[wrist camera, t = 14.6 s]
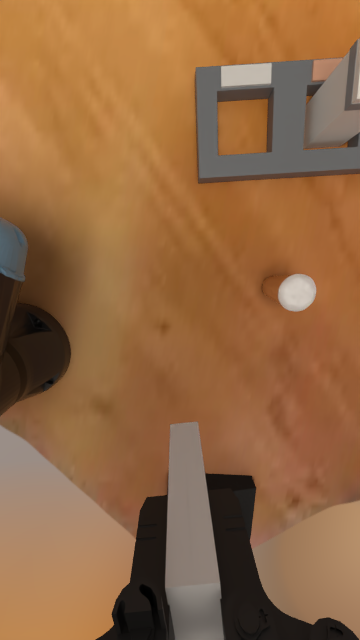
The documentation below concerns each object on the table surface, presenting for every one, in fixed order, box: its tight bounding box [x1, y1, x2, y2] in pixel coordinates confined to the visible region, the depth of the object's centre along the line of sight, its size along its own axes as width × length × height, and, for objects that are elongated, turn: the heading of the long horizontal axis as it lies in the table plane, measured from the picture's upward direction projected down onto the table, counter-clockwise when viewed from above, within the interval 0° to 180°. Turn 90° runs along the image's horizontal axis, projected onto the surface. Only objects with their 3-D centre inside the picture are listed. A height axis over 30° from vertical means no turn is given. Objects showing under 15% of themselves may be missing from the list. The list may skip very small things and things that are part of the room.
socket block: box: [195, 58, 360, 183], centre depth 30 cm, size 23×12×2 cm, turn 93°
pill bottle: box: [262, 274, 316, 311], centre depth 32 cm, size 5×5×10 cm
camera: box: [167, 474, 256, 541], centre depth 40 cm, size 16×14×15 cm
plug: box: [303, 38, 360, 149], centre depth 27 cm, size 5×5×10 cm
